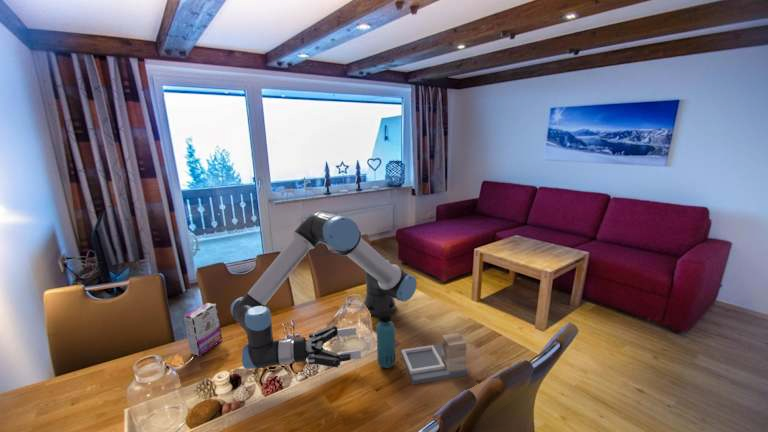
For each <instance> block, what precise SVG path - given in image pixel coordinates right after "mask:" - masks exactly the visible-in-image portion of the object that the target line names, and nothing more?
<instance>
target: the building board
mask: <svg viewBox="0 0 768 432" xmlns="http://www.w3.org/2000/svg"><path fill="white" fill-rule="evenodd" d="M400 355H401V358H402V360H403V363H404V365H405V367H406V370H407V372H408V375H409V377H410V381H411V383H412V385H417V384H423V383H428V382H433V381H434V382H435V381H441V380H447V379H452V378H458V377H464V376H468V375H469V370H468V369H467V368H466V366H465V370H459V371H453V372H448V371H447V369H446V367H445V365H444V364H443V362H442V344H436V345H434V344H431V345H425V346H419V347H418V346H417V347H412V348H411V347H410V348H405V349H401V350H400Z"/></svg>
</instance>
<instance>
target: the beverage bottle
mask: <svg viewBox="0 0 768 432" xmlns="http://www.w3.org/2000/svg"><path fill="white" fill-rule="evenodd" d="M391 314H392V313H389V312H381V313H380V314H379V316H378V320H379V322H377V324H376V351H377V355H376V357H377V364H378V365H379V366H380V367H382V368H391V367H393V366H394V365H395V363H396V360H397V359H396V358H397V357H396V353H397V352H396V339H395V338H396V334H395V333H396V332H395V324H394V323H393V322H392V315H391Z"/></svg>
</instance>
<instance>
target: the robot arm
mask: <svg viewBox="0 0 768 432" xmlns="http://www.w3.org/2000/svg"><path fill="white" fill-rule="evenodd" d="M292 234H293V235H292V236H293V237H292V238H291V240H290V241H289V242H288V243H287V245H285V247H284V248H283V249H282V251H281V252H280V253H279V254H278V255H277V256H276V258H274V260H273V261H272V263H270V265H269V266H268V268H267V269H266V270H264V272H263V274H261V276H260V277H259V278H258V279H257V281H255V283H254V284H253V286H252V287H251V288H250V289H249V291H248V292H247V293H246V294H245V295H244V296H240V297H237V299H235V300H234V301H232V303H231V305H230V313H231V315H232V317H233V319H234V320H235V321H236V322H237V323H238V324H239V325H240V327H241V328H242V329H243V330H244V331H245V333H246V338H247V344H244V346H243V348H242V351H241V364H242V366H243V368H244V369H245V370H251V369H252V370H253V369H256V370H258V369H261V368H266V367H273V366H280V365H286V364H287V365H288V364H292V363H293V362H294V363H302V362H303V363H304V362H306V361H307V363H308V365H317V366H323V367H324V366H325V367H330V368H331V367H332V368H339V366H340V365H341V363H342V362H347V361H351V360H352V361H353V360H357V359H362V357H361V356H362V354H361V348H360V349H353V350H346V351H340V352H339V353H336V352H334V351H330V350H328V349H325V348H324V347H323V346H324V344H325V343H327V342H330V340H332V339H333V338H335V337H338V338H340V337H341V338H342V337H348V336H355V335H357V327H356V326H351V327H349V326H348V327H343V328H342V327H341V328H338V326H337V325H331V326H329V327H326V328H324V329H320V330H319V331H316V332H312V333H309V334H308V339H306V337H305V336H301V337H295V338H294V339H292V338H286V339H285V338H284V339H278V340H274V335H273V334H274V333H273V324H272V323H273V322H272V316H271V315H272V314H271V310H270V309H269V307H267V306H266V305H267V303H268V302H269V301H270V299H272V297H273V296H274V295H275V293H276V292H277V291H278V290H279V289H280V288H281V286H282V284H283V283H284V282H285V281H286V280H287V279H288V277H289V276H290V275H291V274H292V272H293V271H294V270H295V268H296V267H297V266H299V264H300V262H302V260H303V259H304V257H305V256H306V255H307V254H308V252H309V251H310V250H313V249H315V248H316V246H317V245H318V244H320V243H321V244H323V245H325V246H327V247H328V248H329V249H331V250H332V251H333V252H334V253H336V254H337V255H339V256H340V257H341V256H342V257H345V256H347V258H348V259H350V260H351V261H352V262H353V263H355V264H356V265H358V267H360V268H362V269H363V270H364V271H365V286H366V287H365V289H366V293H365V298H364V301H363V304H365V305H366V307H367V308H368V310H369V311H370V313H371V314H372V315H371V316H375V317H379V314H380V313H381V312H389V313H390V314H393V312H395V310H396V301H395V299H396V300H397V301H400V302H408V301H409V300H411V298H412V297H413V296H414V295H415V293H416V290H417V283H418V282H417V279H416V277H415V276H414V275H412V274H411V273H410V274H409V273H408V272H406V271H405V270H403V269H402V268H401V267H399V265H397V264H394V263H393V264H391V261H390V260H388V259H386V258H385V257H383V256H382V255H381V254H380V253H379V252H378V251H377V250H376V249H374V248H373V247H372V246H371V245H370V244H369V243H368V242H367V241H365V240H364V239H363V238H362V232H361V231H360V228H359V225H358V224H357V222H355V221H354V220H353V219H352V218H351V217H348V216H347V215H342V214H340V215H339V214H338V213H337V214H336V213H334V212H333V213H332V212H330V211H325V210H321V211H317V212H314V213H313V214H310V215H309V216H308V217H307V218H306V219H304V221H303V222H302V223H301V224H299V226H298V227H296V229H295V230H294V232H293V233H292Z"/></svg>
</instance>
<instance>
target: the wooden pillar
mask: <svg viewBox="0 0 768 432" xmlns="http://www.w3.org/2000/svg"><path fill="white" fill-rule="evenodd" d="M441 345H442V362H443V364H444V365H445V367H446V369H447V371H448V372H453V371H459V370H465V367H466V357H467V356H466V354H467V342H466V340H465V339H464V338H463V337H462V335H461V334H460V333H459V332H455V333H454V332H453V333H449V334H448V333H447V334H443V335H441Z"/></svg>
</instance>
